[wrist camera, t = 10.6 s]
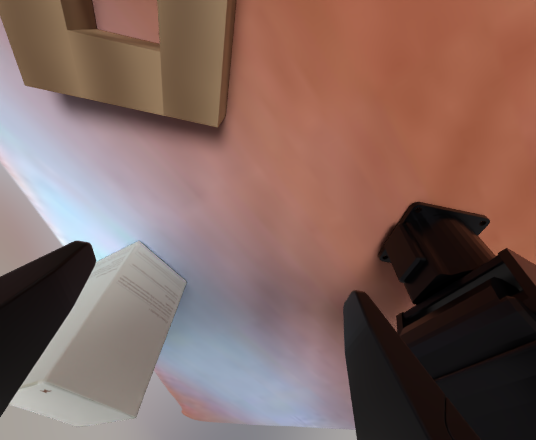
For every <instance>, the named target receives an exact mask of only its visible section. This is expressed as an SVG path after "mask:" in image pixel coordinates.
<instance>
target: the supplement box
mask: <svg viewBox="0 0 536 440" xmlns="http://www.w3.org/2000/svg"><path fill="white" fill-rule="evenodd" d="M186 283H187V282H186V281H185V280H184V279H183V278H182V277H181V276H179V275H178V274H177V273H176V272H175V271H174V270H172V269H171V268H170V267H169V266H168V265H167V264H165V263H164V262H163V261H162V260H161V259H160V258H158V257H157V256H156V255H155V254H154V253H153V252H152V251H150V250H149V249H148V248H147V247H146V246H144V245H143V244H142V243H141V242H140V241H138V242H135V243H133V244H131V245H129V246H127V247H125V248H123V249H121V250H119V251H117V252H115V253H113V254H111V255H109V256H107V257H105V258H103V259H101V260H99V261H97V262H96V264H95V267H94V269H93V271H92V273H91V274H90V276H89V278H88V280H87V282H86V284H85V286H84V288H83V290H82V292H81V294H80V296H79V297H78V299H77V301H76V303H75V305H74V307H73V308H72V310H71V312H70V313H69V315H68V316H67V318H66V319H65V321H64V322H63V324H62V325H61V327H60V328H59V330H58V331H57V333H56V334H55V336H54V337H53V339H52V340H51V342H50V343H49V345H48V346H47V348H46V349H45V351H44V352H43V354H42V355H41V357H40V358H39V360H38V361H37V363H36V364H35V366H34V367H33V369H32V370H31V372H30V373H29V375H28V376H27V378H26V379H25V381H24V382H23V384H22V385H21V387H20V388H19V390H18V391H17V393H16V394H15V396H14V397H13V399H12V400H11V402H10V403H9V405H12V406H15V407H18V408H21V409H25V410H28V411H31V412H34V413H37V414H40V415H43V416H46V417H49V418H52V419H55V420H58V421H61V422H64V423H67V424H70V425H73V426H76V427H83V426H90V425H97V424H104V423H109V422H116V421H121V420H127V419H134V418H136V417H137V414H138V411H139V408H140V405H141V403H142V400H143V397H144V394H145V392H146V389H147V386H148V384H149V381H150V378H151V376H152V373H153V370H154V368H155V365H156V362H157V360H158V357H159V355H160V352H161V350H162V347H163V344H164V342H165V339H166V336H167V334H168V331H169V328H170V326H171V323H172V320H173V318H174V315H175V313H176V310H177V307H178V305H179V302H180V299H181V296H182V294H183V291H184V288H185V286H186Z"/></svg>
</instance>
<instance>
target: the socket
mask: <svg viewBox="0 0 536 440" xmlns="http://www.w3.org/2000/svg"><path fill="white" fill-rule="evenodd" d="M157 2H158V21H159V39H160V44H158V43H153V42H149V41H145V40H141V39H137V38H132V37H128V36H124V35H120V34H115V33H111V32H107V31H103V30H98V29H97V27H96V21H95V16H94V10H93V4H92V0H0V16H1V19H2V22H3V25H4V28H5V31H6V33H7V36H8V39H9V42H10V45H11V48H12V50H13V53H14V56H15V59H16V62H17V65H18V67H19V70H20V73H21V76H22V79H23V81H24V84H25V86H30V87H34V88H39V89H44V90H48V91H53V92H57V93H62V94H67V95H71V96H76V97H80V98H85V99H90V100H94V101H99V102H103V103H108V104H113V105H117V106H122V107H126V108H131V109H135V110H140V111H145V112H149V113H154V114H158V115H163V116H168V117H172V118H177V119H181V120H186V121H191V122H195V123H200V124H204V125H209V126H214V127H218V126H219V125H220V123H221V122H222V120H223V119H224V117H225V116H226V108H227V97H228V86H229V75H230V64H231V53H232V42H233V31H234V20H235V9H236V0H157Z"/></svg>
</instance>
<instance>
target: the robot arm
mask: <svg viewBox="0 0 536 440" xmlns="http://www.w3.org/2000/svg"><path fill="white" fill-rule="evenodd" d="M418 207H419V209H417V210H415V209H416V208H418ZM481 221H482V222H481ZM489 223H490V220H489V219H488V218H487V217H486V216H484V215H480V214H475V213H470V212H465V211H460V210H456V209H451V208H446V207H441V206H436V205H432V204H427V203H422V202H415V203H413V204H412V205H411V206H410V207H409V209H408V210H407V212H406V213H405V215H404V216H403V218H402V219H401V221H400V222H399V224H398V225H397V226H396V227H395V229H394V230H393V232H392V233H391V235H390V237H389V238H388V240H387V241H386V243H385V244H384V247H383V248H382V250H381V251H380V253H379V255H378V256H379V258H380V260H381V261H384V262H390V263H392V265H393V268H394V270H395V272H396V275H397V277H398V279H399V281H400V282H402V283H404V285H405V287H406V289H407V291H408V294H409V296H410V298H411V300H412V303H413V304H416V306H414V307H413V308H411V309H409V310H408V311H406V312H404V313H403V312H402V313H400V314H399V315H397V316H396V319H397V332H396V331H395V329H394V328H393V327H392V326H391V324H390V323H389V322H388V320H387V319H386V318H385V317H384V315H383V314H382V313H381V311H380V310H379V309H378V308H377V306H376V305H375V304H374V302H373V301H372V300H371V299H370V297H369V296H368V295H367V294H366V293H365V292H363V291H357V290H354V291H352V292H351V294H350V295H349V297H348V298H347V300H346V302H345V303H344V307H343V315H344V345H345V357H346V364H347V371H348V378H349V386H350V393H351V400H352V407H353V414H354V421H355V428H356V435H357V440H536V265H535V264H533V263H531V262H530V261H528V260H526V259H525V258H523V257H521V256H520V255H518V254H516V253H515V252H513V251H511V250H510V249H508V248H506V249H504V250H502V251H501V252H499V253H498V255H497V256H495V255H494V254H493V252H492V251H491V250H490V249H489V248H488V247H487V246H486V245H485V243H484V242H483V241H482V240H481V239H480V238H479V237H478V235H479V234H480V233H481V232H482V231H483V230H484V229H485V228H486V227H487V226H488V224H489ZM95 264H96V258H95V255H94V252H93V248H92V246H91V244H90V243H88V242H83V241H74V242H71V243H69V244H67V245H65V246H63V247H61V248H59V249H57V250H55V251H53V252H51V253H49V254H46V255H44V256H42V257H40V258H38V259H36V260H34V261H32V262H30V263H28V264H26V265H24V266H21V267H19V268H17V269H15V270H13V271H11V272H9V273H7V274H5V275H3V276H1V277H0V417H1V415H2V414H3V412H4V411H5V409H6V408H7V406H8V405H9V403H10V402H11V400H12V399H13V397H14V396H15V394H16V393H17V391H18V390H19V388H20V387H21V385H22V384H23V382H24V381H25V379H26V378H27V376H28V375H29V373H30V372H31V370H32V369H33V367H34V366H35V364H36V363H37V361H38V360H39V358H40V357H41V355H42V354H43V352H44V351H45V349H46V348H47V346H48V345H49V343H50V342H51V340H52V339H53V337H54V336H55V334H56V333H57V331H58V330H59V328H60V327H61V325H62V324H63V322H64V321H65V319H66V318H67V316H68V315H69V313H70V312H71V310H72V308H73V307H74V305H75V303H76V301H77V299H78V297H79V296H80V294H81V292H82V290H83V288H84V286H85V284H86V282H87V280H88V278H89V276H90V274H91V273H92V271H93V269H94V267H95Z"/></svg>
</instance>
